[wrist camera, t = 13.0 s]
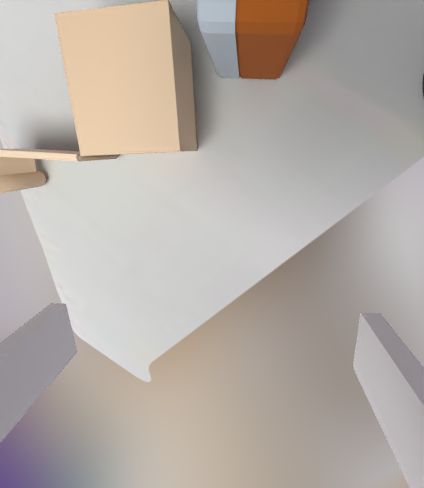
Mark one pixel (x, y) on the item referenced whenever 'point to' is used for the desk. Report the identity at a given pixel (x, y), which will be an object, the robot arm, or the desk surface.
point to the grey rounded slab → (250, 35)
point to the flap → (33, 166)
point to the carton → (129, 79)
